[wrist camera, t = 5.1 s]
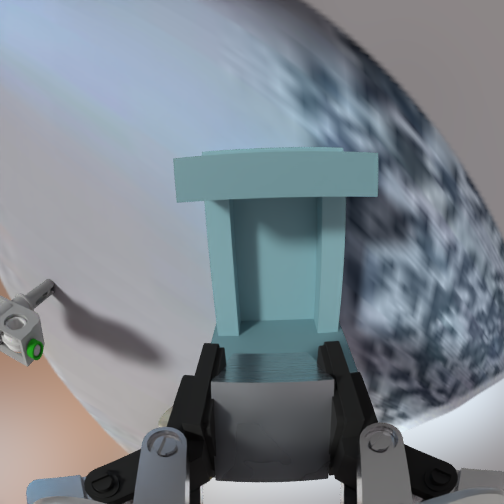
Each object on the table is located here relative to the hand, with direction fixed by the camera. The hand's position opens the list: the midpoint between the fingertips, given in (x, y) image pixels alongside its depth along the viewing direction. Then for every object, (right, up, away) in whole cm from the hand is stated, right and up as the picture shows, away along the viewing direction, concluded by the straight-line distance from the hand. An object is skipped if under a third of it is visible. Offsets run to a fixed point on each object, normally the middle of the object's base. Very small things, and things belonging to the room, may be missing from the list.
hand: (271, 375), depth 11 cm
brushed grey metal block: (0, -2, +3) cm, 3 cm away
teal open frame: (+1, +5, +13) cm, 14 cm away
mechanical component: (-22, +1, +15) cm, 27 cm away
